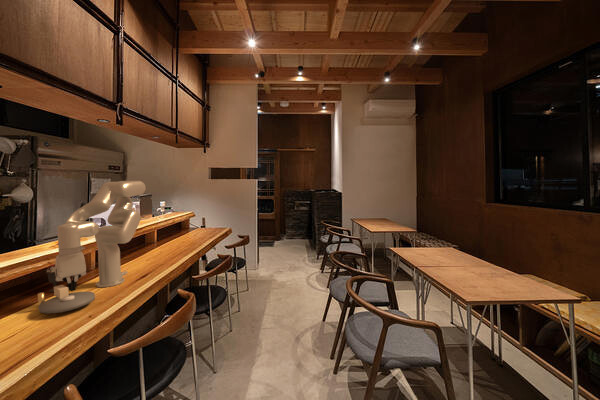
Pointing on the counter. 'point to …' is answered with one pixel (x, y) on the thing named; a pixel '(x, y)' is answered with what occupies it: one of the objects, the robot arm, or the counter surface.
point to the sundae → (52, 276)
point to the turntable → (65, 300)
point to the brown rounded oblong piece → (43, 300)
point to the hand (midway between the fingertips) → (72, 290)
